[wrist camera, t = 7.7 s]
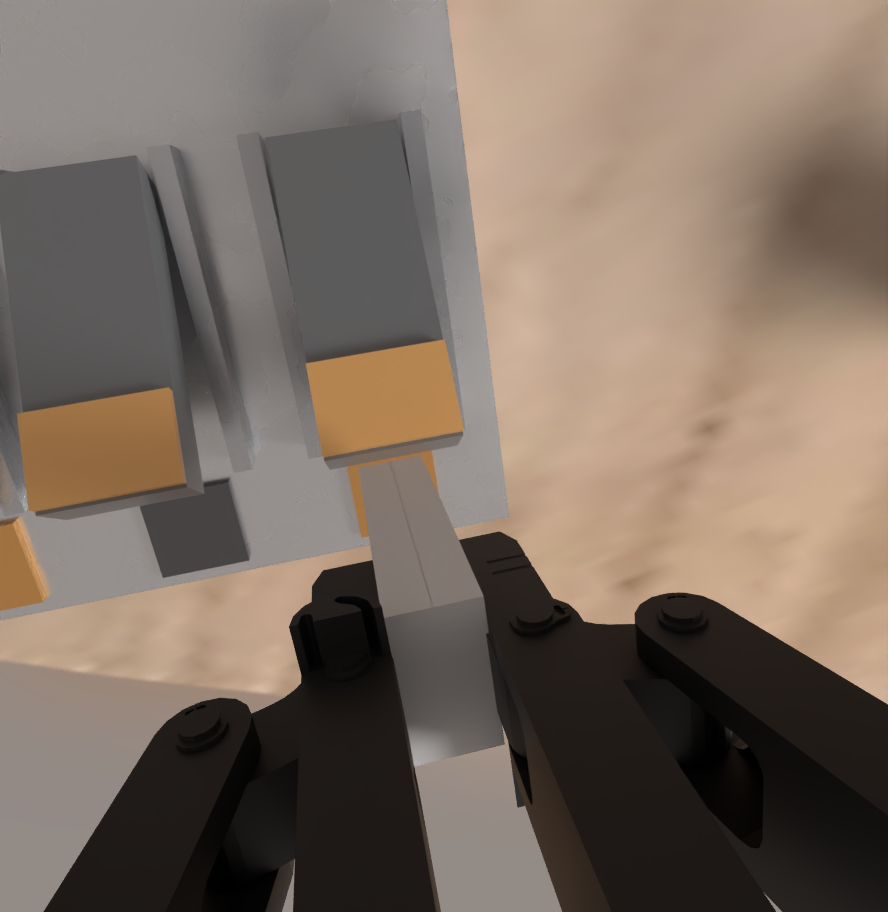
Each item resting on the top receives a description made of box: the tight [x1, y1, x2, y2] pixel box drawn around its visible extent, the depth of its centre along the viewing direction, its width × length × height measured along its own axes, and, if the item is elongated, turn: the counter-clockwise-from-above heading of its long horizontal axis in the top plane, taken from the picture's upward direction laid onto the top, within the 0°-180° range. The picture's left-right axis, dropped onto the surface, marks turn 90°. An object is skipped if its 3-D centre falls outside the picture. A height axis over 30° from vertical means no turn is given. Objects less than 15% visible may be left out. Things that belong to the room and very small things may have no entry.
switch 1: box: [0, 155, 205, 520], centre depth 18 cm, size 9×4×2 cm, turn 8°
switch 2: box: [265, 119, 464, 470], centre depth 19 cm, size 9×4×2 cm, turn 8°
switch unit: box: [0, 0, 509, 620], centre depth 23 cm, size 18×22×6 cm
